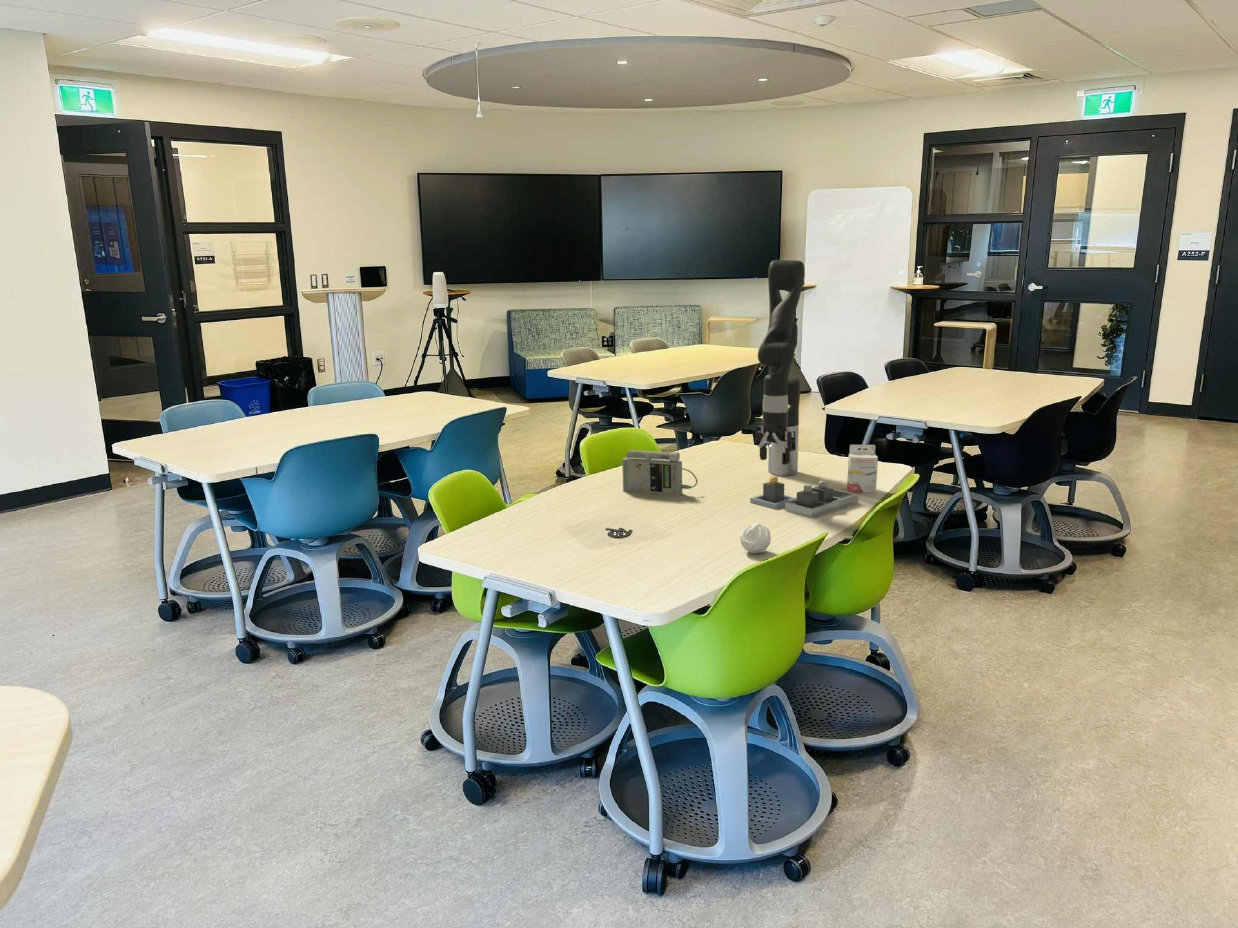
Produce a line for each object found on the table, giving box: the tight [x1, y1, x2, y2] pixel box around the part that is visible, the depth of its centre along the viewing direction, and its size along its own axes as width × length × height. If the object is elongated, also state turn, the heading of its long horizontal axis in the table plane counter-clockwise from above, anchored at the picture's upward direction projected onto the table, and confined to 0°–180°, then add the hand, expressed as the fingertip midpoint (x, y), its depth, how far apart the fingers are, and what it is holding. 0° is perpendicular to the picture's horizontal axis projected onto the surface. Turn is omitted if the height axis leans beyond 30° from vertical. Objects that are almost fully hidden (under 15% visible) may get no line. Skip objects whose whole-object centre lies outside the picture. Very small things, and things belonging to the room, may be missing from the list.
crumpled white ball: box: [739, 522, 772, 554], centre depth 235 cm, size 8×8×8 cm
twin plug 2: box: [812, 480, 834, 503], centre depth 271 cm, size 4×4×8 cm
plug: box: [762, 475, 785, 503], centre depth 277 cm, size 4×4×8 cm
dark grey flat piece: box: [605, 527, 633, 539], centre depth 254 cm, size 9×8×1 cm
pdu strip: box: [784, 488, 859, 519], centre depth 272 cm, size 10×22×3 cm, turn 130°
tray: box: [749, 494, 797, 510], centre depth 278 cm, size 10×10×2 cm
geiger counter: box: [621, 449, 698, 497], centre depth 292 cm, size 14×6×25 cm
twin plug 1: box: [796, 484, 819, 508], centre depth 267 cm, size 4×4×8 cm
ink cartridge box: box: [846, 444, 879, 494], centre depth 288 cm, size 9×5×15 cm, turn 84°
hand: (774, 462), depth 275 cm, fingers open, 8 cm apart
